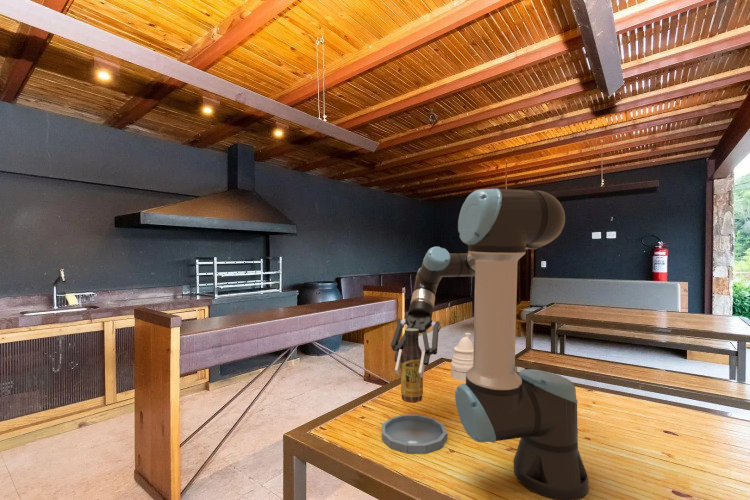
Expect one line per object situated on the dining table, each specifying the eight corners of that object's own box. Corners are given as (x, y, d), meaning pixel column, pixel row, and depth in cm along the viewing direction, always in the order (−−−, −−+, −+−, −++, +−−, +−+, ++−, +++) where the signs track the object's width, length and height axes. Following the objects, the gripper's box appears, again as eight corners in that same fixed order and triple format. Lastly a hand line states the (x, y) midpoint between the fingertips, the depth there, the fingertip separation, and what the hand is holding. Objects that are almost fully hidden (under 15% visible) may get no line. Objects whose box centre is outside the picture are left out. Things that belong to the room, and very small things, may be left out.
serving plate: (451, 453, 89) (451, 445, 89) (381, 453, 89) (381, 445, 89) (440, 421, 107) (440, 414, 107) (381, 421, 107) (381, 414, 107)
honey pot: (462, 369, 156) (461, 329, 157) (488, 376, 146) (486, 334, 147) (444, 376, 148) (443, 334, 148) (470, 384, 138) (469, 338, 139)
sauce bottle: (405, 405, 94) (403, 332, 95) (398, 396, 100) (395, 328, 101) (427, 402, 96) (425, 330, 97) (419, 393, 102) (416, 326, 103)
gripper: (453, 315, 110) (445, 384, 94) (396, 312, 117) (379, 376, 101) (450, 300, 105) (441, 370, 90) (390, 298, 112) (373, 363, 96)
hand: (408, 373), depth 95 cm, fingers closed on sauce bottle, 6 cm apart
